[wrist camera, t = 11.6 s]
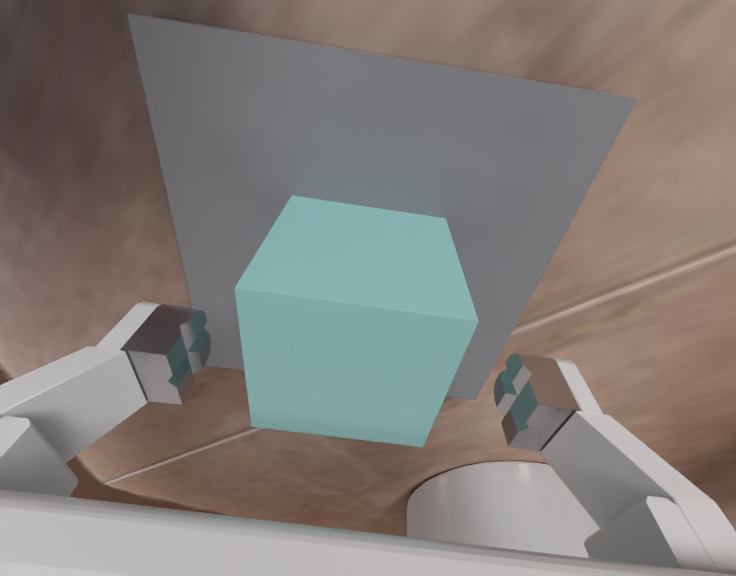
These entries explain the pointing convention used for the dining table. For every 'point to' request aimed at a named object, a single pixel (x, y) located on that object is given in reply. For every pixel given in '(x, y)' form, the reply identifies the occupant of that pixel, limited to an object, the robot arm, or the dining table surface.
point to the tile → (364, 161)
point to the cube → (353, 322)
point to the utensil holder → (501, 509)
